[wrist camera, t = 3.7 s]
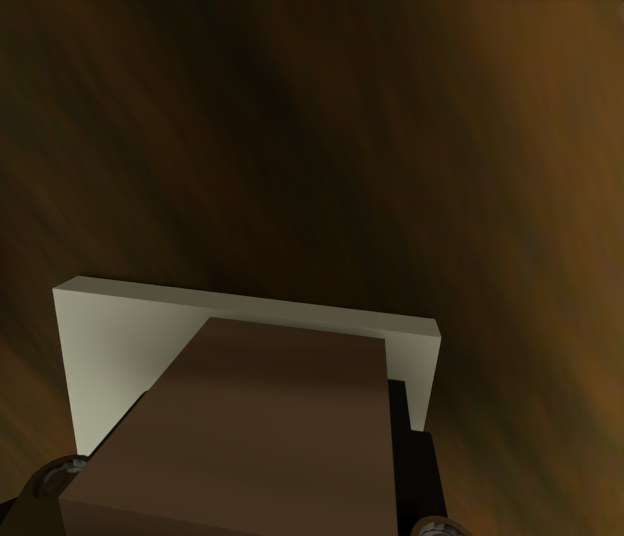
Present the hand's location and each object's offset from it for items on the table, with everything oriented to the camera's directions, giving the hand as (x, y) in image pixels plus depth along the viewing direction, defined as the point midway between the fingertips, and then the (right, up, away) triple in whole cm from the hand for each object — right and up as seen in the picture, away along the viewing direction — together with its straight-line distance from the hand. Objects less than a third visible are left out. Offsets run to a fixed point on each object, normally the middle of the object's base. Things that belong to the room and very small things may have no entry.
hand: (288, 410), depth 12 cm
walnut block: (0, 0, 0) cm, 0 cm away
